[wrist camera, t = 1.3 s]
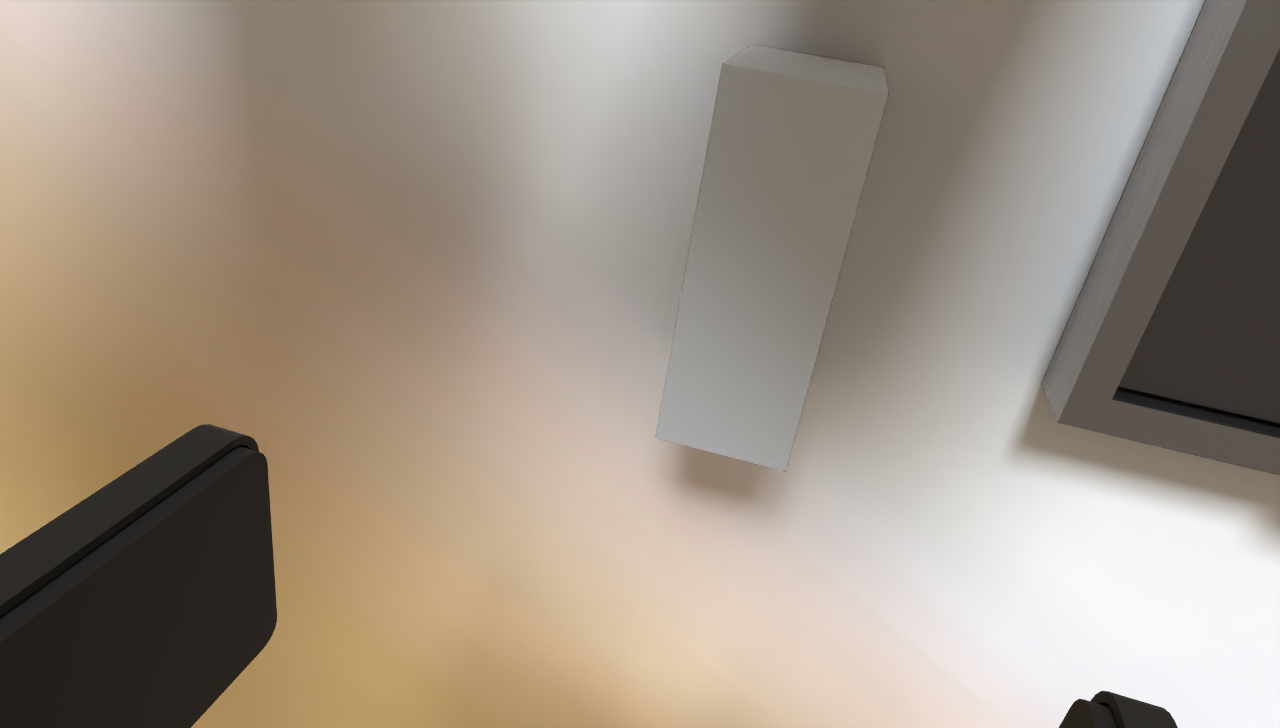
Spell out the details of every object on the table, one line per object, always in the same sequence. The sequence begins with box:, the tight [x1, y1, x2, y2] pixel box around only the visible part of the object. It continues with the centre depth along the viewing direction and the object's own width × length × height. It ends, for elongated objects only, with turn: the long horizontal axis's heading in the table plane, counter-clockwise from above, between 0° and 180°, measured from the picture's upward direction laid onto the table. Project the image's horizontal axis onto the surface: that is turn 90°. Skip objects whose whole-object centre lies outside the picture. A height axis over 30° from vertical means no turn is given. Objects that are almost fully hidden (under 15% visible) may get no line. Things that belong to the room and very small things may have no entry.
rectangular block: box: [655, 44, 889, 471], centre depth 22 cm, size 10×4×6 cm, turn 172°
